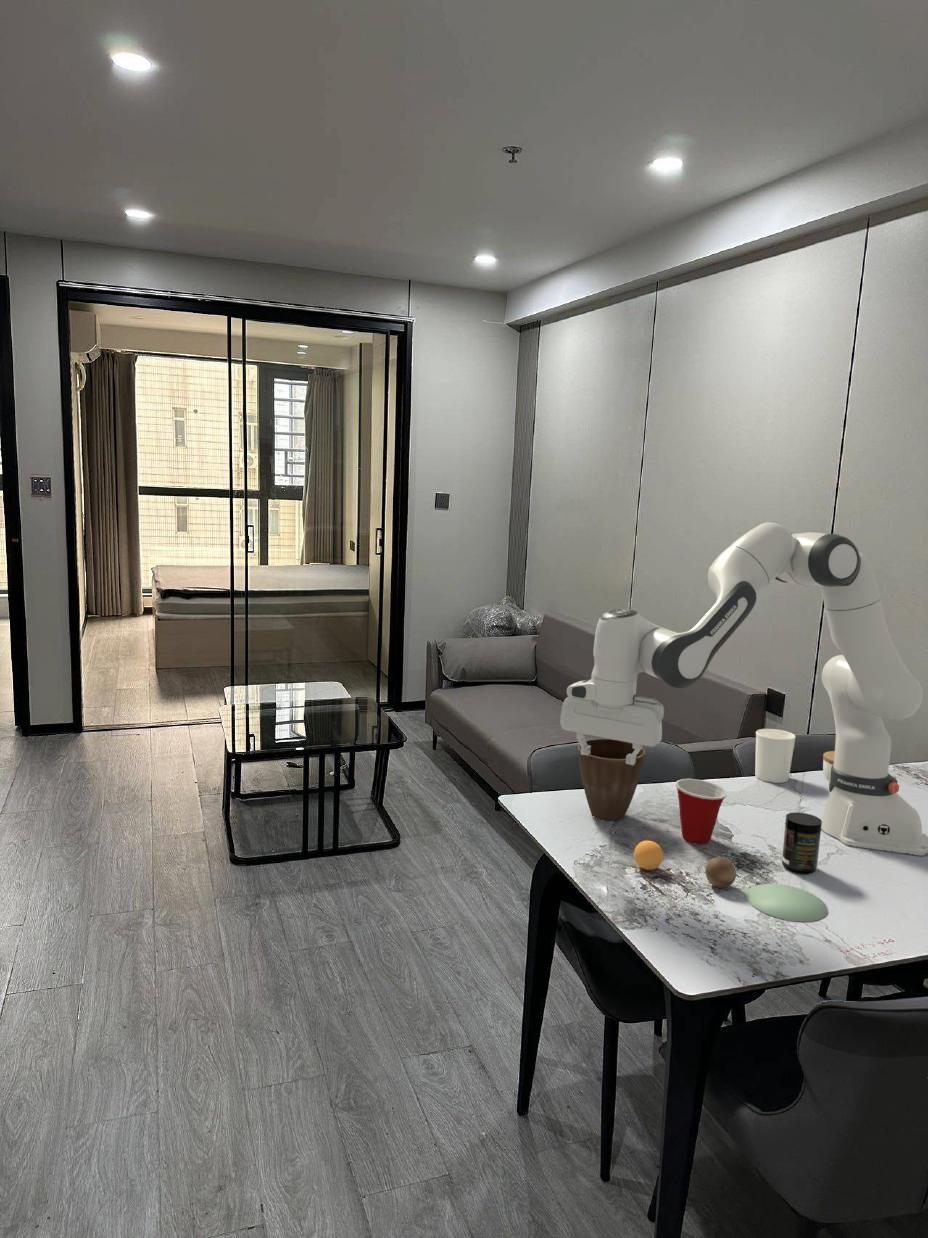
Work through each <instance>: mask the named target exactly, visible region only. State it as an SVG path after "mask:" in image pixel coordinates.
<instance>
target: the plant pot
mask: <svg viewBox="0 0 928 1238" xmlns="http://www.w3.org/2000/svg"><path fill="white" fill-rule="evenodd" d="M586 743H587V745H590V746H591V749H590V751H591V752H590V755H588V756H587V755H581V746H580V744H579V743H578V748H577V749H578V757H579V758H578V760H579V767H580V768H579V769H580V775H581V781H582V785H583V790H584V794H585V797H586V800H587V801H586V802H587V805H588V808H589V810H590V814H591V816H592V817H593V816H594V817H595V818H594V817H593V818H594V819H596V818H597V819H596V820H598V819H600V820H599V821H602V820H603V821H602V822H608V821H614V822H619V821H621V820H623V819H624V818H625V816H626V814H627V812H628V809H629V807H630V806H631V803H632V801H633V799H634V798H633V797H634V795H635V792H636V790H637V786H638V783H639V779H640V776H641V773H642V769H643V765H644V759H645V755H646V750H645V748H644V747H642V749H641V750H640V751H639V753H638V754H637V755H636V762H635V764H634V765H629V764H626V755H628V754H632V753H633V752H634V750H635V749H633V748H632V747H633V743H629V742H624V741H619V740H614V739H608V738H598V739H595V738H594V739H589V740H586Z"/></svg>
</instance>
